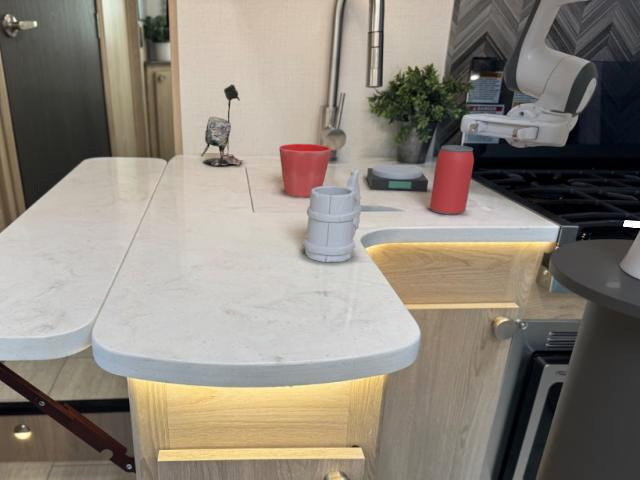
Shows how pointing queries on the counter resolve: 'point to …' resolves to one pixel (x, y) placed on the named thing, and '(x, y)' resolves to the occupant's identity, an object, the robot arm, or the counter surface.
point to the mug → (333, 221)
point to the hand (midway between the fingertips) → (492, 131)
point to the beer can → (452, 179)
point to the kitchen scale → (396, 178)
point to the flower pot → (303, 167)
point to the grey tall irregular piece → (221, 132)
